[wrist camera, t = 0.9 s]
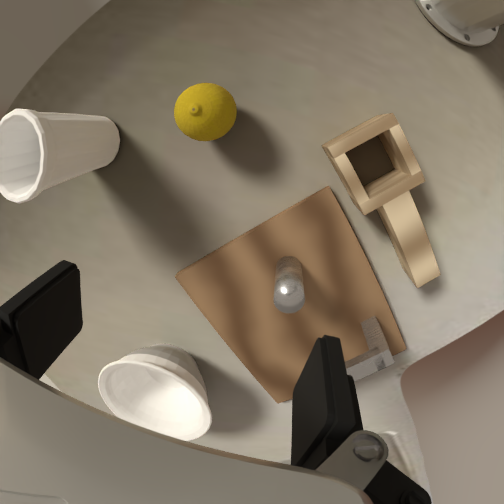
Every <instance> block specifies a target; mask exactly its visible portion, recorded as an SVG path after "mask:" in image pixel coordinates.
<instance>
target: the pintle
mask: <svg viewBox="0 0 504 504" xmlns="http://www.w3.org/2000/svg"><path fill="white" fill-rule="evenodd" d="M273 301H274V305H275V307H276V308H277V309H278V310H279V311H281V312H283V313H295V312H297V311H299V310H300V309H301V308H302V307H303V305H304V302H305V295H304V285H303V275H302V265H301V263H300V261H299V260H298V259H297V258H295V257H293V256H285V257H282V258H281V259H280V260H279V261H278V262H277V265H276V274H275V287H274V299H273Z"/></svg>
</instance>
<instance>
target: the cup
mask: <svg viewBox="0 0 504 504" xmlns="http://www.w3.org/2000/svg"><path fill="white" fill-rule="evenodd" d="M119 144H120V137H119V131H118V129H117V127H116V125H115V124H114V122H113V121H111V120H110V119H108V118H107V117H103V116H93V115H81V114H66V113H47V112H37V111H34V110H28V109H15V110H13V111H11V112H10V113H8V114H7V115H5V116H4V117H3V118H2V120H1V121H0V193H1V194H2V195H3V196H4V197H5V198H6V199H7V200H10V201H13V202H16V203H19V204H20V203H23V202H26V201H29V200H31V199H33V198H34V197H36V196H38V195H39V194H40V193H41V192H42V190H44V189H47V188H49V187H51V186H54V185H56V184H59V183H61V182H64V181H66V180H69V179H71V178H74V177H77V176H79V175H82V174H84V173H87V172H90V171H93V170H95V169H98V168H101V167H104V166H107V165H108V164H109V163H110V162H112V161H113V160H114V158H115V156H116V154H117V152H118V150H119Z"/></svg>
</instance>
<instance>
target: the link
mask: <svg viewBox="0 0 504 504" xmlns="http://www.w3.org/2000/svg"><path fill="white" fill-rule="evenodd" d="M377 135H378V137H379V139H380V141H381V143H382V144H383V146H384V148H385V150H386V152H387V154H388V156H389V158H390V160H391V162H392V164H393V166H394V168H395V169H394V170H392V171H390V172H389V173H387V174H385V175H383V176H381V177H380V178H378V179H376V180H374V181H372V182H370V183H369V184H367V185H365V186H362V184H361V182H360V180H359V178H358V176H357V174H356V172H355V170H354V169H353V167H352V165H351V163H350V161H349V159H348V158H347V156H346V154H345V152H347V151H349V150H351V149H353V148H354V147H356V146H358V145H360V144H362V143H364V142H366V141H367V140H369V139H371V138H373V137H375V136H377ZM322 147H323V149H324V151H325V152H326V154H327V156H328V158H329V159H330V161H331V163H332V165H333V166H334V168H335V170H336V172H337V174H338V175H339V177H340V179H341V181H342V183H343V184H344V186H345V188H346V190H347V192H348V194H349V196H350V198H351V199H352V201H353V203H354V204H355V205H356V207H357V208H358V209H359V210H360V211H361V212H362V213H363V214H364V215H366V214H368V213H370V212H371V211H373V210H375V209H377V211H378V213H379V215H380V218H381V220H382V222H383V224H384V226H385V228H386V231H387V233H388V235H389V237H390V239H391V242H392V244H393V246H394V249H395V251H396V253H397V256H398V258H399V260H400V263H401V265H402V268H403V269H404V271H405V272H406V273H407V275H408V276H409V277H410V279H411V280H412V281H413V283H414V284H415V286H416V287H417V288H419V287H420V286H422V285H424V284H426V283H427V282H429V281H431V280H433V279H434V278H436V277H438V276H439V275H441V274H440V271H439V268H438V265H437V262H436V259H435V256H434V253H433V250H432V247H431V245H430V242H429V239H428V236H427V234H426V231H425V228H424V226H423V223H422V221H421V218H420V216H419V213H418V211H417V208H416V206H415V203H414V201H413V199H412V196H411V194H410V192H409V190H411V189H412V188H414V187H416V186H418V185H419V184H421V183H423V182H425V178H424V176H423V174H422V171H421V169H420V167H419V165H418V162H417V160H416V158H415V156H414V154H413V152H412V149H411V147H410V145H409V143H408V141H407V139H406V137H405V135H404V133H403V131H402V129H401V127H400V125H399V123H398V121H397V119H396V118H395V116H394V114H393V113H390V114H383V115H377V116H375V117H374V118H372V119H370V120H368V121H366V122H364V123H362V124H360V125H358V126H356V127H355V128H353V129H351V130H349V131H347V132H345V133H343V134H342V135H340V136H338V137H336V138H334V139H332V140H331V141H329V142H327V143H325V144H323V145H322Z"/></svg>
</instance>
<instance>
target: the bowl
mask: <svg viewBox="0 0 504 504" xmlns="http://www.w3.org/2000/svg"><path fill="white" fill-rule="evenodd" d="M98 387H99V391H100V394H101V396H102V398H103V400H104V402H105V403H106V405H107V406H108V407H109V408H110V410H111V411H112V412H113V413H114V414H115V415H116V416H117V417H118V418H120V419H123V420H125V421H128V422H130V423H133V424H136V425H138V426H141V427H144V428H147V429H150V430H152V431H155V432H158V433H161V434H164V435H167V436H171V437H174V438H177V439H180V440H184V441H189V440H194V439H196V438H199V437H201V436H202V435H204V434H205V433H206V432H207V431H208V430H209V428H210V426H211V423H212V413H211V410H210V407H209V405H208V398H207V389H206V386H205V383H204V380H203V377H202V376H201V374H200V372H199V369H198V366H197V363H196V362H195V360H194V359H193V358H192V356H191V355H189V354H188V353H187V352H186V351H184V350H183V349H181V348H179V347H177V346H174V345H171V344H166V343H159V344H154V345H151V346H150V347H145V348H141V349H138V350H135V351H132V352H130V353H128V354H127V355H126V356H124V357H123V358H121V359H120V360H119V361H115V362H112V363H110V364H108V365H107V366H105V367H104V368H103V369H102V371H101V372H100V374H99V379H98Z"/></svg>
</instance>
